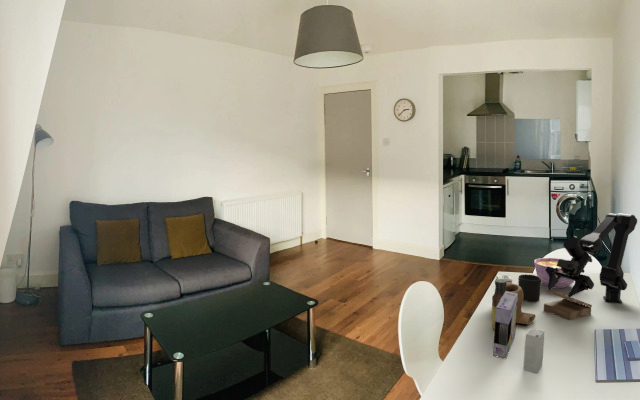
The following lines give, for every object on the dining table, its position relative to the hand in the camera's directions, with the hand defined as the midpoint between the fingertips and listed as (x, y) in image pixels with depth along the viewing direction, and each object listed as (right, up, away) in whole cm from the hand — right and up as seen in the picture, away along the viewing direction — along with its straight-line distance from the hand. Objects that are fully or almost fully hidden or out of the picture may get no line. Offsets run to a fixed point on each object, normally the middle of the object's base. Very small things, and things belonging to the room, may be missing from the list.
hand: (558, 293), depth 184 cm
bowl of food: (+19, -4, +38) cm, 43 cm away
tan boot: (-21, -11, -5) cm, 24 cm away
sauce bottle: (-29, -12, -14) cm, 35 cm away
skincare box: (-30, -15, -42) cm, 54 cm away
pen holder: (-2, -7, +21) cm, 22 cm away
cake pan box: (-33, -14, -27) cm, 45 cm away
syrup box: (-19, -9, +8) cm, 23 cm away
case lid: (+6, -3, +3) cm, 8 cm away
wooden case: (+6, -9, +4) cm, 11 cm away
